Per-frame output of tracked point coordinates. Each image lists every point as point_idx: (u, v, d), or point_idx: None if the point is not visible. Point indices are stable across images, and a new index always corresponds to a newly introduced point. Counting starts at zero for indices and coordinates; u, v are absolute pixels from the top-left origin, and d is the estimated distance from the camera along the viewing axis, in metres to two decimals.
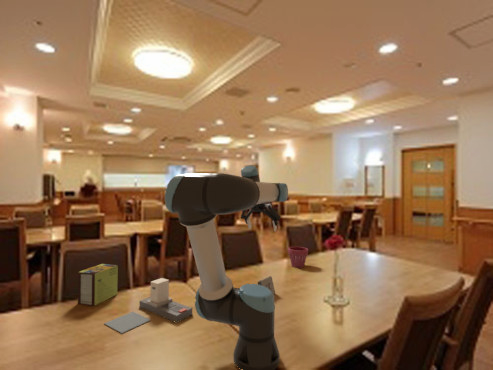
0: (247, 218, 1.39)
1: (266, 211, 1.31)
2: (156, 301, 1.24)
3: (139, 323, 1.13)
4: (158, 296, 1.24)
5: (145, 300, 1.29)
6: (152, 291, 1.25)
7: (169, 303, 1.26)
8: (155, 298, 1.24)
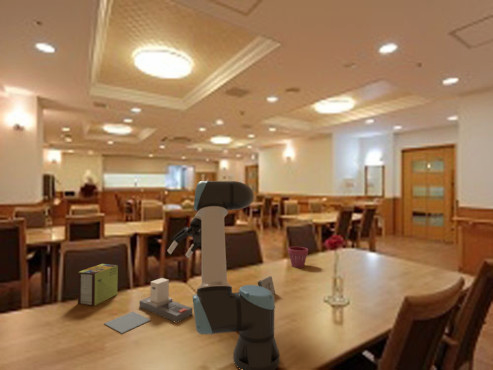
0: None
1: (195, 235, 1.41)
2: (156, 301, 1.24)
3: (139, 323, 1.13)
4: (158, 296, 1.24)
5: (145, 300, 1.29)
6: (152, 291, 1.25)
7: (169, 303, 1.26)
8: (155, 298, 1.24)
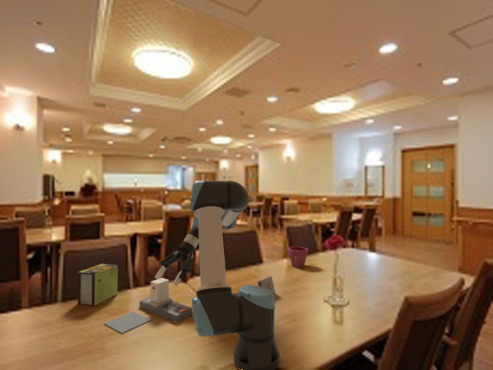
0: None
1: (184, 260, 1.36)
2: (156, 301, 1.24)
3: (139, 323, 1.13)
4: (158, 296, 1.24)
5: (145, 300, 1.29)
6: (152, 291, 1.25)
7: (169, 303, 1.26)
8: (155, 298, 1.24)
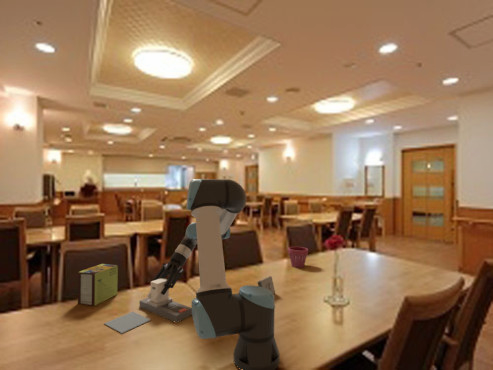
0: None
1: (172, 273, 1.30)
2: (156, 301, 1.24)
3: (139, 323, 1.13)
4: None
5: (145, 300, 1.29)
6: (152, 291, 1.25)
7: (169, 303, 1.26)
8: None
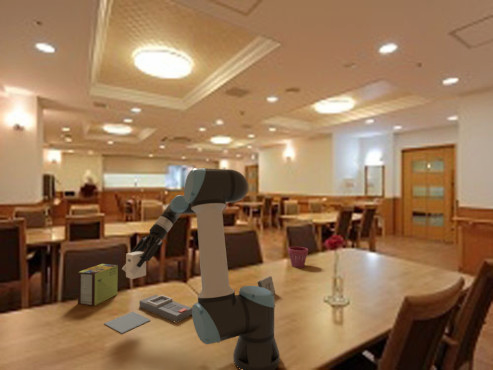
0: None
1: (150, 245, 1.21)
2: (131, 274, 1.14)
3: (139, 323, 1.13)
4: None
5: (145, 300, 1.29)
6: (127, 264, 1.16)
7: (169, 303, 1.26)
8: None
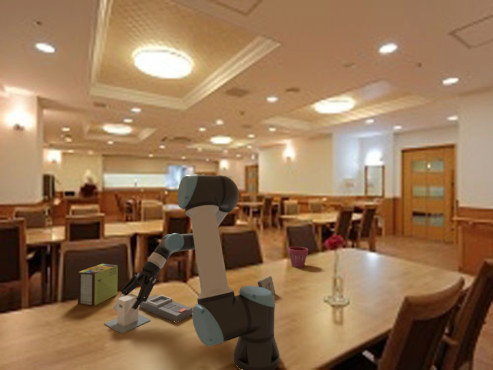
0: None
1: (144, 285, 1.17)
2: (123, 321, 1.10)
3: (139, 323, 1.13)
4: (125, 315, 1.10)
5: None
6: (119, 309, 1.12)
7: (169, 303, 1.26)
8: (122, 317, 1.11)
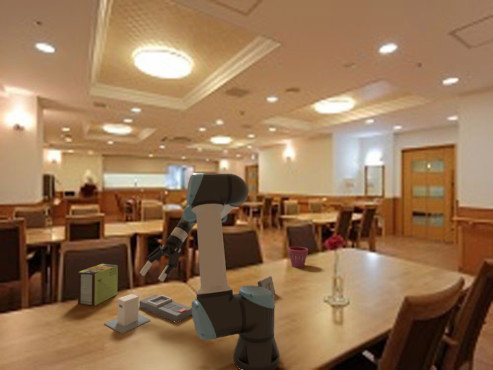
0: None
1: (171, 254, 1.28)
2: (123, 321, 1.10)
3: (139, 323, 1.13)
4: (125, 315, 1.10)
5: (145, 300, 1.29)
6: (119, 309, 1.12)
7: (169, 303, 1.26)
8: (122, 317, 1.11)
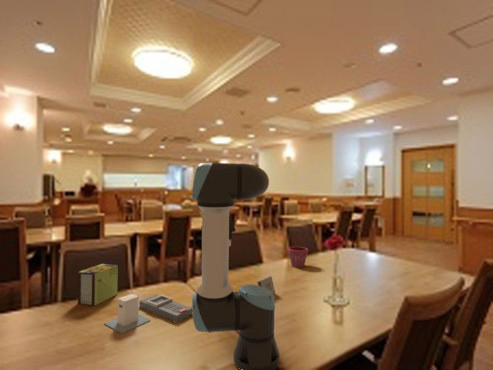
0: None
1: None
2: (123, 321, 1.10)
3: (139, 323, 1.13)
4: (125, 315, 1.10)
5: (145, 300, 1.29)
6: (119, 309, 1.12)
7: (169, 303, 1.26)
8: (122, 317, 1.11)
